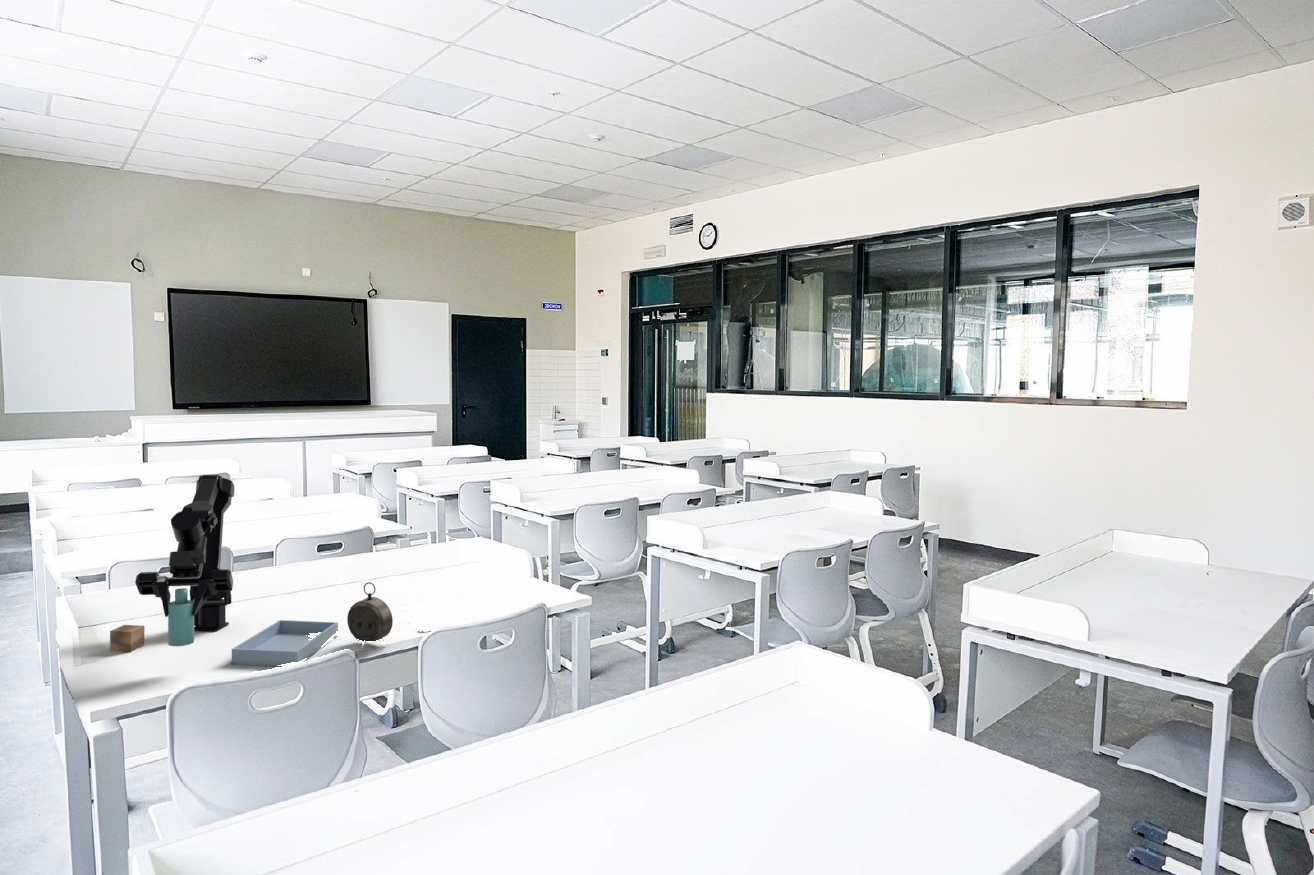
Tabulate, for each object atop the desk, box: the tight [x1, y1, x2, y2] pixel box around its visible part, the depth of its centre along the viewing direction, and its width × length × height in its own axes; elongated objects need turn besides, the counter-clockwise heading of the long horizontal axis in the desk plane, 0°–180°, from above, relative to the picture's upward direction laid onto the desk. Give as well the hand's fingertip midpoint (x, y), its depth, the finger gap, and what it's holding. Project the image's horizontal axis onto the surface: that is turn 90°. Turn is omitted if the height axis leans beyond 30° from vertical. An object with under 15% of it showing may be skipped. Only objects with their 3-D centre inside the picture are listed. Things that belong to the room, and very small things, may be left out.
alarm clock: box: [346, 581, 394, 642], centre depth 204 cm, size 11×5×16 cm, turn 71°
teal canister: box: [167, 588, 195, 647], centre depth 182 cm, size 5×5×12 cm
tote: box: [231, 619, 339, 667], centre depth 200 cm, size 15×23×4 cm, turn 179°
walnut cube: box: [109, 624, 145, 653], centre depth 197 cm, size 5×5×5 cm
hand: (179, 615), depth 180 cm, fingers closed on teal canister, 5 cm apart
